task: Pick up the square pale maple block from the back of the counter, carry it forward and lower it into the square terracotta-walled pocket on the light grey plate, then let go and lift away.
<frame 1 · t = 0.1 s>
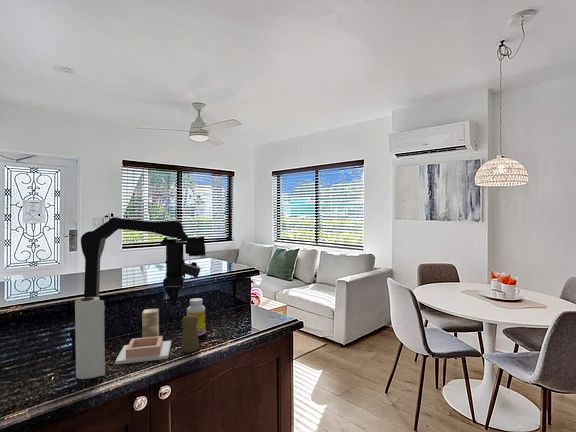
hand: (175, 302, 118), 15 cm above the worktop, tool pointing down, fingers open, 9 cm apart
olive pepper mill: (190, 349, 114), on the worktop
supplement bottle: (196, 334, 128), on the worktop
maple block: (150, 338, 124), on the worktop
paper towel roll: (89, 376, 95), on the worktop
pocket plate: (145, 353, 110), on the worktop
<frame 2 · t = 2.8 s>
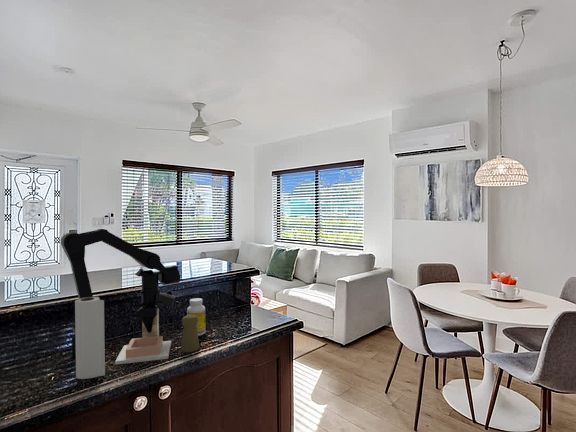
hand: (150, 329, 124), 3 cm above the worktop, tool pointing down, fingers closed on maple block, 5 cm apart
maple block: (150, 338, 124), on the worktop, touching gripper
everything else where it was.
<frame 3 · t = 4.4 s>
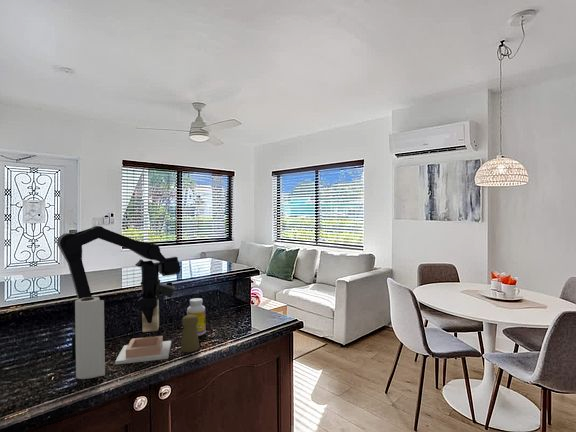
hand: (150, 320, 124), 6 cm above the worktop, tool pointing down, fingers closed on maple block, 5 cm apart
maple block: (151, 329, 124), point 3 cm above the worktop, touching gripper
everything else where it was.
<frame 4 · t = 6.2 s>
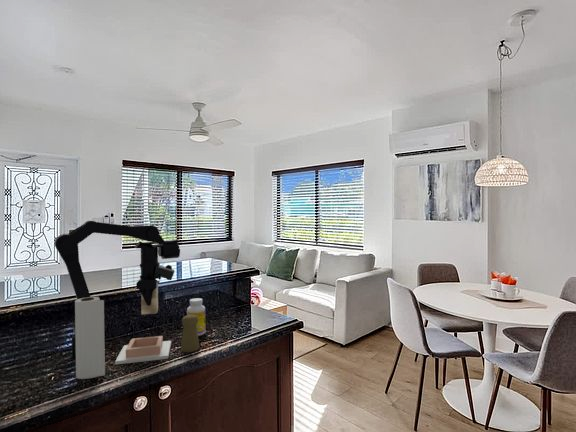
hand: (149, 303, 123), 13 cm above the worktop, tool pointing down, fingers closed on maple block, 5 cm apart
maple block: (150, 312, 123), point 10 cm above the worktop, touching gripper
everything else where it was.
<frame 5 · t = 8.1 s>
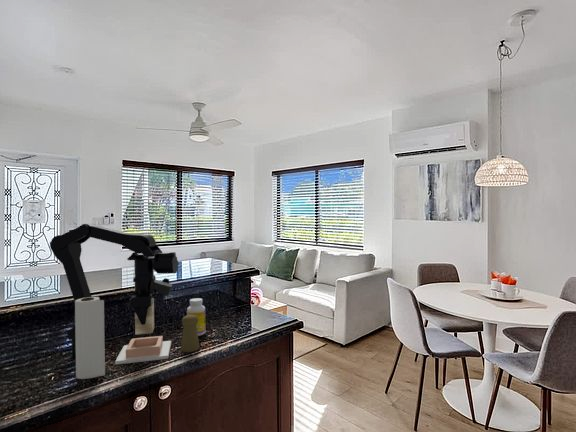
hand: (144, 321, 110), 10 cm above the worktop, tool pointing down, fingers closed on maple block, 5 cm apart
maple block: (144, 331, 110), point 7 cm above the worktop, touching gripper
everything else where it was.
when the fingers open (5 cm above the worktop, at t = 9.9 s): maple block drops 1 cm, resting on pocket plate.
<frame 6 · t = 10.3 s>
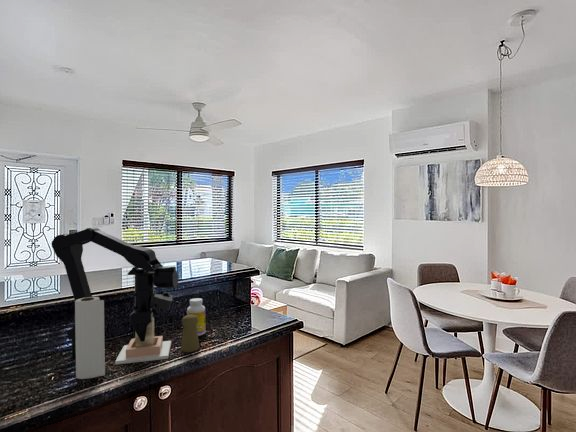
hand: (145, 336, 110), 5 cm above the worktop, tool pointing down, fingers open, 9 cm apart
maple block: (145, 350, 110), point 1 cm above the worktop, touching pocket plate
everything else where it was.
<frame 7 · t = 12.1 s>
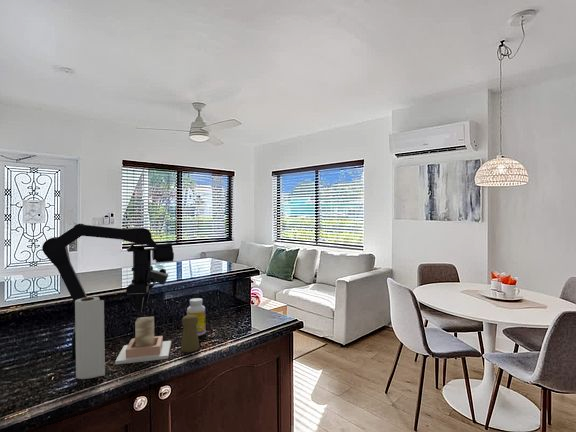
hand: (142, 308, 119), 12 cm above the worktop, tool pointing down, fingers open, 9 cm apart
nothing on the worktop moved.
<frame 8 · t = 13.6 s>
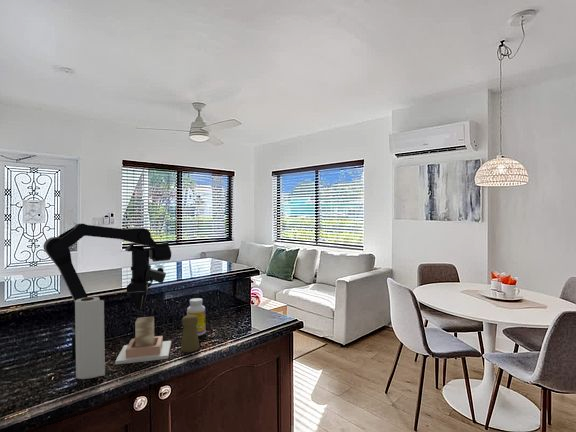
hand: (141, 306, 122), 12 cm above the worktop, tool pointing down, fingers open, 9 cm apart
nothing on the worktop moved.
at the end: maple block 0.0 cm off-centre on the pocket plate, point 1.0 cm above the pocket plate's base; maple block tilted 0°; the gripper is holding nothing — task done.
